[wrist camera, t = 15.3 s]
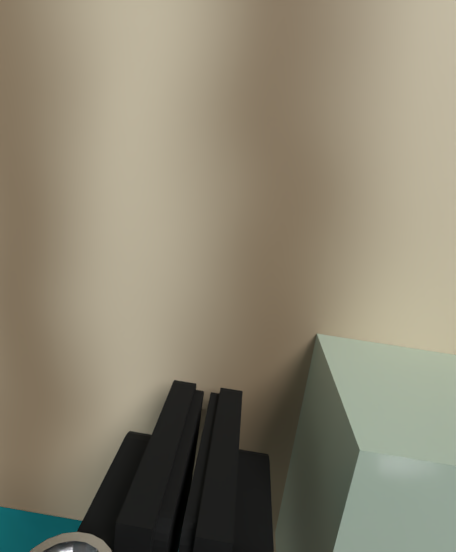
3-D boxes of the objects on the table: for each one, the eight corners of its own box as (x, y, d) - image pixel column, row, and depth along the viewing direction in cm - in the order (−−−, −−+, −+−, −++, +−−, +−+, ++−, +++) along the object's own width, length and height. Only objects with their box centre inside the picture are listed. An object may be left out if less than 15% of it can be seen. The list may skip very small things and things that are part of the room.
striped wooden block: (547, 22, 12) (806, -116, 6) (418, 446, 16) (505, 594, 11) (87, -31, 13) (-53, -200, 7) (75, 391, 17) (-20, 503, 11)
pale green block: (576, 373, 9) (820, 526, 5) (495, 570, 10) (633, 802, 7) (316, 333, 9) (360, 450, 5) (274, 532, 11) (284, 734, 7)
